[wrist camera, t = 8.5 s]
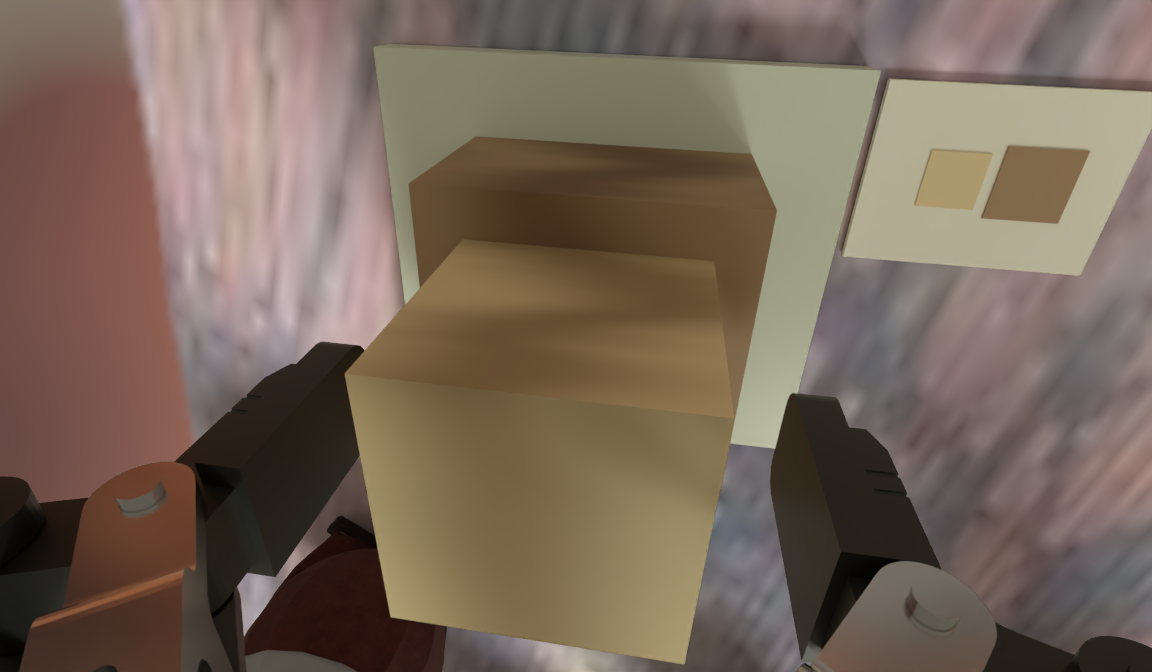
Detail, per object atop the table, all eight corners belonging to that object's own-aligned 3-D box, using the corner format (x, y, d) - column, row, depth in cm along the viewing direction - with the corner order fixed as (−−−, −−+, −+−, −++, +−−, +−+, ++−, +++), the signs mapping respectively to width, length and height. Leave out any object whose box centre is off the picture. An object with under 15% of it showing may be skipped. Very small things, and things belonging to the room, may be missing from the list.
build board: (869, 66, 14) (880, 70, 14) (778, 429, 20) (782, 449, 19) (389, 43, 16) (373, 46, 15) (428, 390, 21) (417, 406, 20)
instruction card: (1163, 91, 14) (1170, 93, 14) (1076, 272, 16) (1081, 276, 16) (887, 78, 14) (891, 80, 14) (841, 253, 17) (843, 257, 17)
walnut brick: (751, 153, 15) (776, 211, 11) (711, 388, 18) (719, 494, 14) (475, 136, 16) (408, 183, 12) (487, 364, 19) (438, 458, 15)
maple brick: (714, 261, 12) (735, 418, 7) (683, 459, 14) (684, 664, 10) (462, 239, 12) (344, 373, 8) (475, 434, 15) (390, 616, 10)
